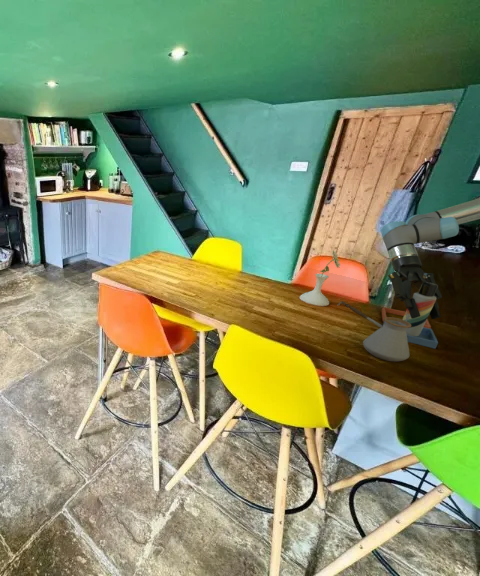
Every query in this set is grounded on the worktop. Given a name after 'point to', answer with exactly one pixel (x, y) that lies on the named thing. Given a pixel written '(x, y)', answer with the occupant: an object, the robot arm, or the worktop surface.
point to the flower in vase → (319, 287)
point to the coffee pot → (387, 338)
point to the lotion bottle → (421, 308)
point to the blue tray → (424, 338)
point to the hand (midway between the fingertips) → (426, 317)
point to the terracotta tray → (399, 314)
